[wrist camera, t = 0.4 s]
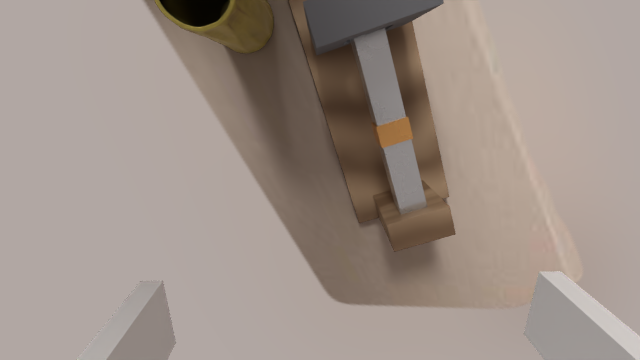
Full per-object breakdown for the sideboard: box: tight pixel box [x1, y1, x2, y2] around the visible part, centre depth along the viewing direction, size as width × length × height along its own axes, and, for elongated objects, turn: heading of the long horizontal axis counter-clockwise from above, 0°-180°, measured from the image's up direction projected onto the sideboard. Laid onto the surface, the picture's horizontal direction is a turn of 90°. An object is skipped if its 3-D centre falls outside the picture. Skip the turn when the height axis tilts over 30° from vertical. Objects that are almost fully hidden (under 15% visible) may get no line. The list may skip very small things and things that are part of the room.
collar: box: [303, 0, 443, 55], centre depth 26 cm, size 3×9×10 cm, turn 108°
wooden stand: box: [289, 0, 455, 252], centre depth 31 cm, size 27×11×9 cm, turn 18°
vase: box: [155, 0, 274, 53], centre depth 26 cm, size 6×6×14 cm
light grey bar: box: [350, 27, 427, 215], centre depth 29 cm, size 22×3×3 cm, turn 18°
